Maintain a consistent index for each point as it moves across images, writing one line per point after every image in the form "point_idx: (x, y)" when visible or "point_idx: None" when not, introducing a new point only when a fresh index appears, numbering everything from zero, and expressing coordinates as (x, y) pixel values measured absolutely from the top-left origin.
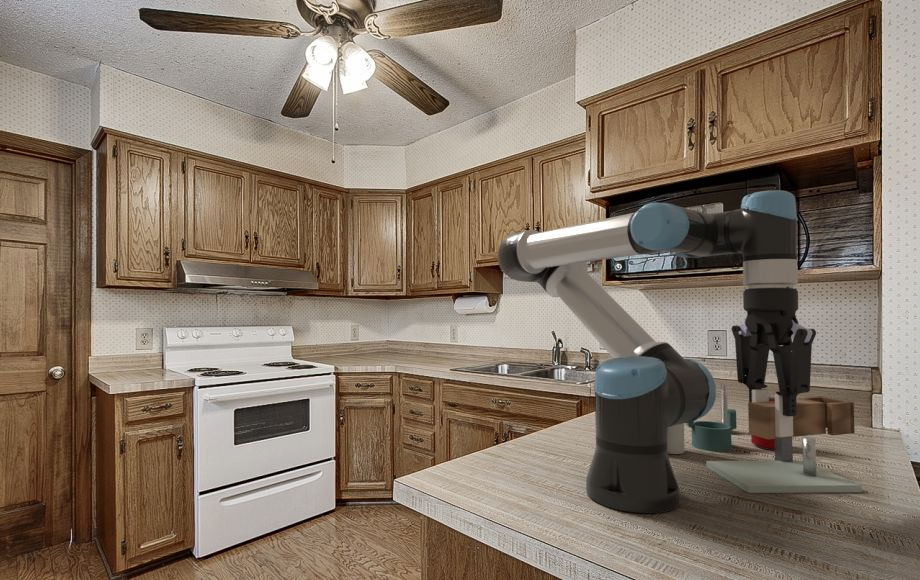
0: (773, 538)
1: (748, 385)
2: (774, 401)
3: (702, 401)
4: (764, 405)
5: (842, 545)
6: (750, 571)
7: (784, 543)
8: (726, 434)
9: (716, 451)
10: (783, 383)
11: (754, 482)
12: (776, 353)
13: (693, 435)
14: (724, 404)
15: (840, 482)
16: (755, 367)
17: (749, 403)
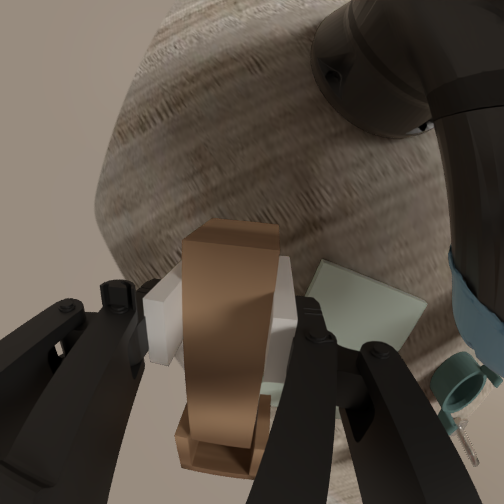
0: (187, 136)
1: (320, 332)
2: (254, 364)
3: (462, 245)
4: (208, 259)
5: (145, 205)
6: (148, 50)
7: (172, 137)
8: (441, 393)
9: (441, 365)
10: (96, 327)
11: (330, 287)
12: (31, 460)
13: (475, 362)
14: (466, 445)
15: (269, 390)
16: (274, 419)
17: (273, 250)
